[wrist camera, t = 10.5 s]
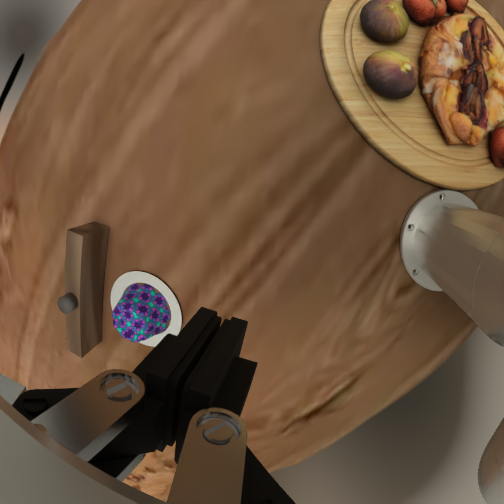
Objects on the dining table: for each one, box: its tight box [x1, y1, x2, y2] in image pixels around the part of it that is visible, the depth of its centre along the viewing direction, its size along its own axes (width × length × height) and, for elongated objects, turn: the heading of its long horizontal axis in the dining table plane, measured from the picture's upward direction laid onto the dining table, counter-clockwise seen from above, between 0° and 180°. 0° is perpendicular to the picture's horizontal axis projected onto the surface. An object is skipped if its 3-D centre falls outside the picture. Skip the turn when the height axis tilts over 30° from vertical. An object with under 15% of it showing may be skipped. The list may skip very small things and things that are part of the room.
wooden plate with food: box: [320, 0, 504, 191], centre depth 22 cm, size 32×32×8 cm
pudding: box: [111, 271, 182, 347], centre depth 39 cm, size 12×12×5 cm
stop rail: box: [58, 222, 110, 358], centre depth 38 cm, size 3×20×8 cm, turn 164°
